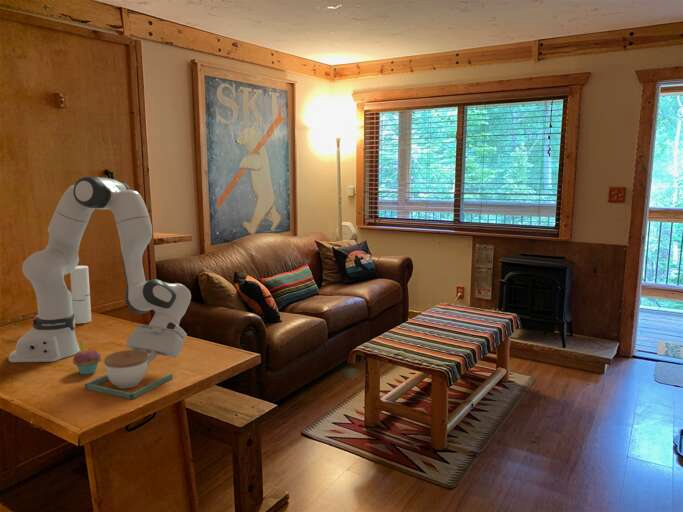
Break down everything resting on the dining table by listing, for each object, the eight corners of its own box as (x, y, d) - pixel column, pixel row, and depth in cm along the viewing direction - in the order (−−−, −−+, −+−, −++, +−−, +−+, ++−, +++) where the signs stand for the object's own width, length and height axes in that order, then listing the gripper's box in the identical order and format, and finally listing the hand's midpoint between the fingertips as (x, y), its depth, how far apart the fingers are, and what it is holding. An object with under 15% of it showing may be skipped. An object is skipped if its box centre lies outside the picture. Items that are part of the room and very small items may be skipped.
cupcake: (83, 378, 167) (80, 343, 165) (68, 372, 172) (65, 338, 170) (107, 370, 174) (105, 336, 172) (92, 365, 179) (90, 331, 177)
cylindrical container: (95, 321, 230) (91, 266, 226) (81, 325, 223) (77, 269, 219) (83, 319, 232) (80, 265, 228) (69, 323, 226) (66, 267, 222)
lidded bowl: (143, 373, 172) (141, 341, 171) (153, 386, 162) (152, 353, 160) (102, 381, 165) (100, 348, 163) (110, 395, 155) (108, 360, 153)
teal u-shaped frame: (128, 369, 176) (128, 364, 176) (172, 378, 169) (172, 373, 169) (85, 388, 159) (85, 384, 159) (132, 399, 153) (131, 394, 152)
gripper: (134, 319, 178) (113, 355, 170) (182, 326, 170) (162, 364, 163) (144, 328, 183) (124, 363, 175) (191, 335, 175) (172, 373, 168)
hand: (143, 364), depth 169 cm, fingers closed, pressing on lidded bowl
